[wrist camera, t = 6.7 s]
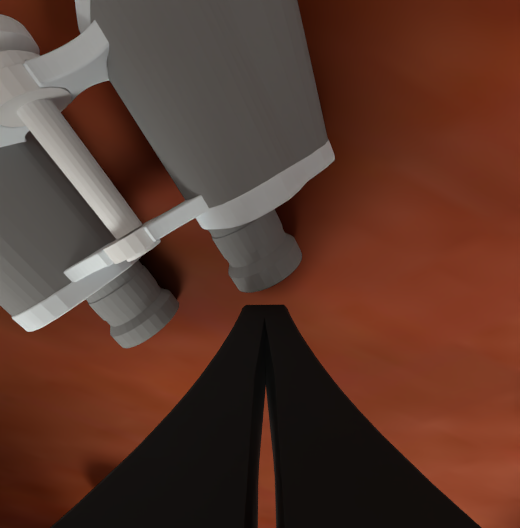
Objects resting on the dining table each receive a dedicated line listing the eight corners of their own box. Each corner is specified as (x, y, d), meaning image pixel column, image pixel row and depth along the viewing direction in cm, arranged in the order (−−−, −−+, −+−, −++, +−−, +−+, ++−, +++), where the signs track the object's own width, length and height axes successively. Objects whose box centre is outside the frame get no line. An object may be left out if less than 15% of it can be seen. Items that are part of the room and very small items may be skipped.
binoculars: (251, -103, 6) (236, -388, 3) (362, 209, 9) (416, 249, 6) (-76, 160, 8) (-283, 172, 5) (97, 333, 11) (32, 409, 8)
